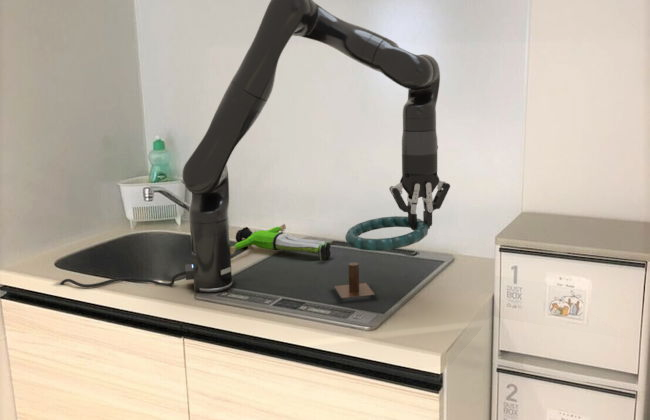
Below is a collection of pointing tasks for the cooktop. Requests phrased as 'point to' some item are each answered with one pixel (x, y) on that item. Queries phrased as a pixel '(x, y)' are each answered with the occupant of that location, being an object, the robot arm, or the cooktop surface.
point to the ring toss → (354, 284)
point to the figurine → (280, 242)
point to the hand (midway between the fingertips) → (420, 228)
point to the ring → (385, 242)
